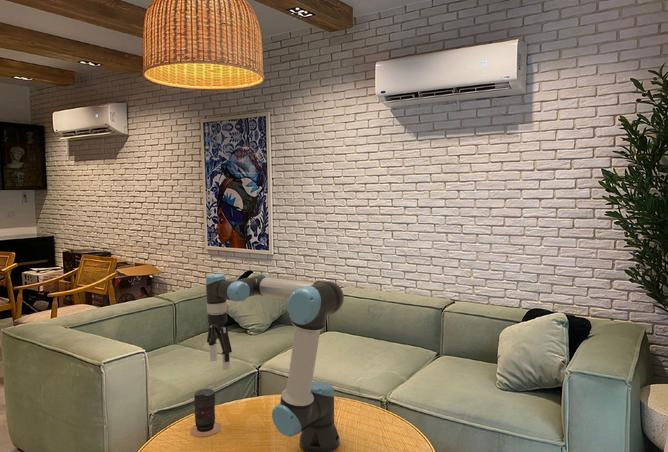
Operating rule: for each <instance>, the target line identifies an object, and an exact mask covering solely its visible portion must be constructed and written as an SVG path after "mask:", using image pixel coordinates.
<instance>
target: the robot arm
mask: <svg viewBox="0 0 668 452" xmlns="http://www.w3.org/2000/svg"><path fill="white" fill-rule="evenodd" d="M205 290H206V291H205V292H206V294H205V295H206V310H207V311H206V312H207V323H208V331H207V337H206V343H207V344H208V345H209V361H210V362H212V363H213V362H217V361H218V352H217V344H218V343H217V340H218V341H219V344H220V347H221V350H222V352H221V356H222V357H221V358H222V359H221V360H222V371H228V370H230V369H231V360H230V353H232V352H233V350H232V346H231V342H230V341H231V340H230V338H229V331H228V327H225V326H224V324H225V323H227V322H228V312H227V311H228V310H227V305H228V303H227V301H233V302H243V301H246V300H247V299H248V298H250V297H255V296H261V297H269V298H274V299H275V298H276V299H283V300H287V305H286V310H287V313H288V314H289V315H288V316H289V318H290V320H291V324H292V325H293V326H294V328H295V329H294V334H293V342H292V347H291V354H290V355H291V356H290V363H289V369H288V378H287V383H286V388H285V389H283V390H282V392H281V394H280V399H279V400H280V402H279V404H276V405H275V406H274V407H273V409H272V411H271V418H272V419H271V420H272V422H273V424H274V425H273V426H275V428H276V429H277V431H278V432H279V433H280V434H281V435H283V436H285V437H287V438H288V437H289V438H291V437H294V436H296V435H299V434H300V436H299V447H300V449H301V450H302V451H304V452H333V451H335V450H336V449H338V447H339V446H340V435H339V432H338V429H337V427H336V424H335V423H336V422H335V390H334V387H333V386H332V385H331V384H329V383H327V382H323V381H313V379H314V373H315V372H314V371H315V366H316V358H317V354H318V353H317V352H318V347H319V340H320V334H321V331H323V330H324V329H325V328H326V324H327V318H328V316H330V315H333V314H335V313H337V312H338V311H340V309H341V308H342V306H343V304H344V300H345V298H344V297H345V296H344V292H343V289H342V288H341V287H340V285H339V284H337V283H336V282H334V281H327V280H315V281H313V282H312V281H311V282H310V281H301V280H293V279H284V278H275V277H270V276H268V275H267V274H257V275H256V276H250V277H246V278H245V277H244V278H241V279H240V278H239V279H237V280H236V279H235V280H227V279H226V276H225V274H224V273H211V274H208V275H207V276H206V277H205Z"/></svg>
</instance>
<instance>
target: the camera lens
mask: <svg viewBox="0 0 668 452" xmlns="http://www.w3.org/2000/svg"><path fill="white" fill-rule="evenodd" d="M193 398H194V399H193V400H194V401H193V402H194V410H193V411H194V412H193V413H194V423H195V424H194V425H196V427H197V430H198V431H200V432H207V431H210V430H212V429H213V428H214V424H215V422H216V406H215V405H216V394H215V390H214V389H211V388H202V389H198V390H197V391H195V392H194V395H193Z"/></svg>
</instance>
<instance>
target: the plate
mask: <svg viewBox="0 0 668 452" xmlns="http://www.w3.org/2000/svg"><path fill="white" fill-rule="evenodd" d="M221 429H222V427H221V424H220V423H218V422H216V421H215V424H214V428H213V429H212V430H210V431H207V432H200V431H198V430H197V427H196V424H193V426H192V427H190V429H189V433H190V435H191V436H193V437H196V438H207V437H212V436H214V435H216V434H218V433H219V432H220V431H221Z"/></svg>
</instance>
